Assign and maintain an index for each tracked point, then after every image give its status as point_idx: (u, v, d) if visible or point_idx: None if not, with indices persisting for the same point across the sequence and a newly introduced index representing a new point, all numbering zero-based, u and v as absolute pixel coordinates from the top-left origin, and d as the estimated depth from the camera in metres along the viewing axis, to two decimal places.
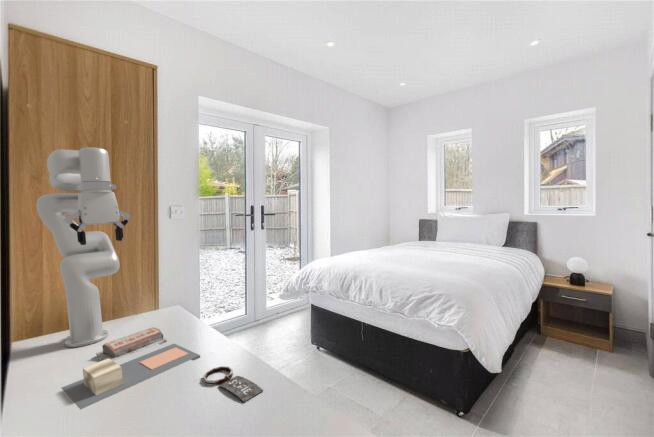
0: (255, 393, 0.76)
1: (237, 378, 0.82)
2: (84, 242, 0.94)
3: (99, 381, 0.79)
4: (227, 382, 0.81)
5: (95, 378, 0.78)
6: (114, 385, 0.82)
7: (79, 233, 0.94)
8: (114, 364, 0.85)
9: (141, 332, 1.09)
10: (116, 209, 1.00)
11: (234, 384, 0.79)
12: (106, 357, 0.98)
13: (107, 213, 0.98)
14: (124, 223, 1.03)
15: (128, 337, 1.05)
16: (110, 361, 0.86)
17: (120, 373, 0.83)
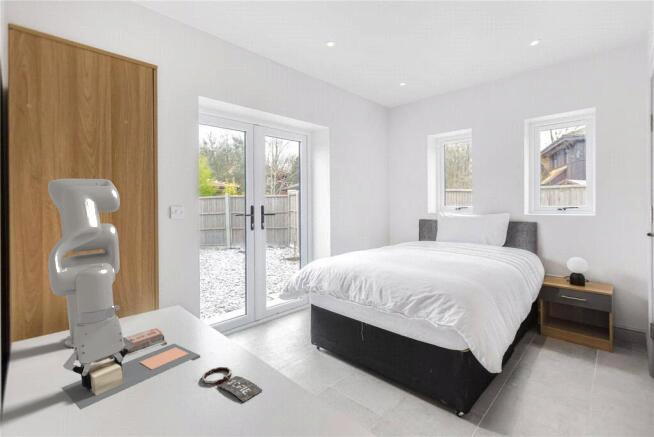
0: (254, 393, 0.76)
1: (236, 378, 0.82)
2: (89, 387, 0.80)
3: (99, 381, 0.79)
4: (226, 382, 0.81)
5: (95, 378, 0.78)
6: (114, 385, 0.82)
7: (83, 376, 0.80)
8: (114, 364, 0.85)
9: (143, 333, 1.08)
10: (120, 336, 0.85)
11: (233, 384, 0.79)
12: (105, 357, 0.98)
13: (109, 344, 0.83)
14: (123, 354, 0.87)
15: (129, 338, 1.04)
16: (110, 361, 0.86)
17: (120, 373, 0.83)
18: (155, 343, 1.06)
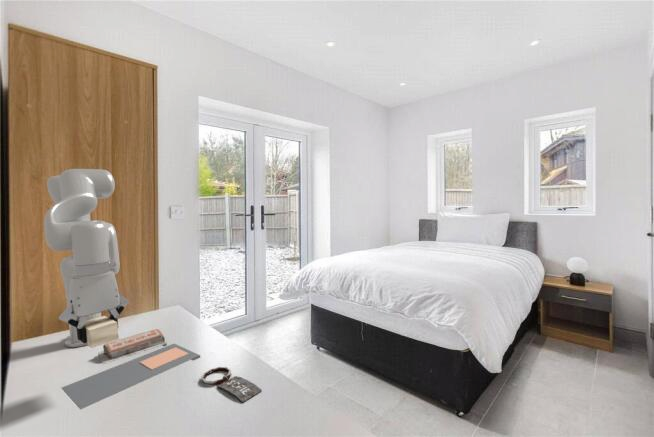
0: (254, 393, 0.76)
1: (235, 378, 0.82)
2: (85, 340, 0.80)
3: (95, 334, 0.79)
4: (225, 382, 0.81)
5: (90, 331, 0.78)
6: (110, 340, 0.81)
7: (79, 330, 0.79)
8: (110, 320, 0.84)
9: (143, 333, 1.07)
10: (116, 292, 0.84)
11: (233, 384, 0.79)
12: (104, 358, 0.98)
13: (105, 299, 0.82)
14: (119, 311, 0.86)
15: (129, 338, 1.04)
16: (106, 318, 0.86)
17: (116, 328, 0.82)
18: (155, 344, 1.06)
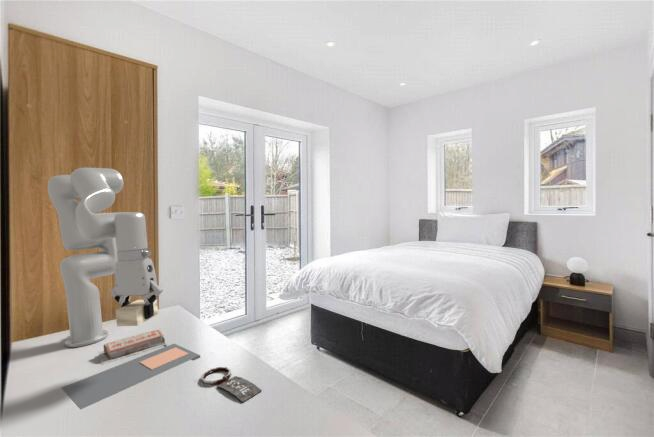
0: (254, 393, 0.76)
1: (235, 378, 0.82)
2: None
3: (119, 315, 0.86)
4: (225, 382, 0.81)
5: (116, 311, 0.86)
6: (130, 324, 0.86)
7: (122, 306, 0.90)
8: (142, 305, 0.89)
9: (144, 334, 1.07)
10: (143, 281, 0.87)
11: (232, 384, 0.79)
12: (104, 358, 0.98)
13: (134, 285, 0.88)
14: (151, 299, 0.89)
15: (129, 339, 1.03)
16: None
17: (135, 315, 0.86)
18: (154, 345, 1.05)
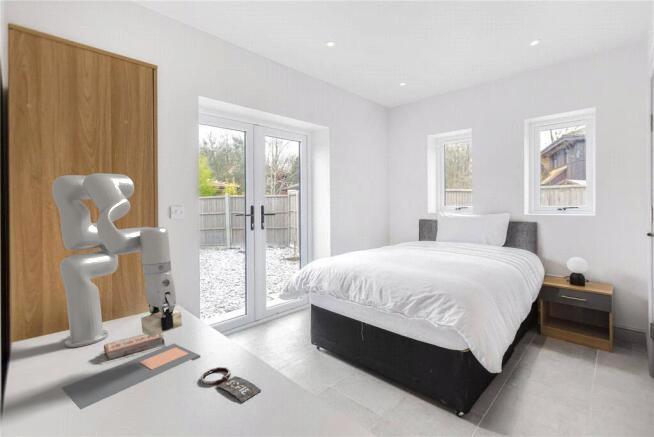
0: (253, 393, 0.76)
1: (235, 378, 0.82)
2: None
3: (142, 323, 0.93)
4: (225, 383, 0.81)
5: (141, 318, 0.94)
6: (148, 333, 0.91)
7: None
8: (161, 317, 0.93)
9: (144, 335, 1.06)
10: (158, 294, 0.91)
11: (232, 384, 0.79)
12: (103, 358, 0.98)
13: (153, 297, 0.92)
14: (166, 312, 0.92)
15: (129, 339, 1.03)
16: None
17: (150, 326, 0.90)
18: (154, 346, 1.04)
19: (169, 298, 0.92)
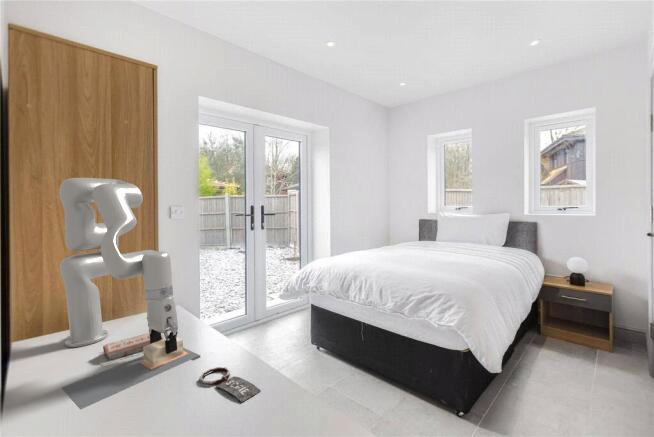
0: (253, 393, 0.76)
1: (234, 379, 0.82)
2: None
3: (144, 352, 0.94)
4: (224, 383, 0.81)
5: (143, 347, 0.94)
6: (150, 363, 0.92)
7: None
8: (162, 346, 0.94)
9: (144, 335, 1.06)
10: (160, 320, 0.91)
11: (231, 384, 0.79)
12: (103, 359, 0.97)
13: (155, 322, 0.93)
14: (170, 336, 0.91)
15: (128, 340, 1.03)
16: None
17: (151, 356, 0.91)
18: None
19: (171, 321, 0.92)
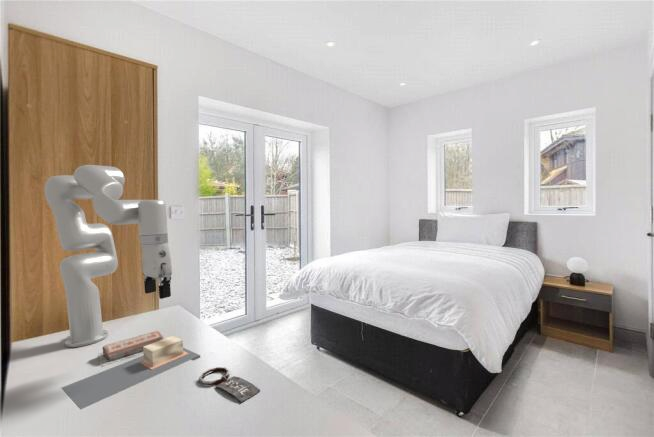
0: (252, 393, 0.76)
1: (234, 379, 0.82)
2: (145, 291, 0.99)
3: (144, 352, 0.94)
4: (224, 383, 0.81)
5: (143, 347, 0.94)
6: (150, 363, 0.92)
7: None
8: (162, 346, 0.94)
9: (143, 335, 1.06)
10: (154, 265, 0.92)
11: (231, 384, 0.79)
12: (103, 360, 0.97)
13: (149, 268, 0.94)
14: (163, 281, 0.92)
15: (128, 340, 1.02)
16: (172, 342, 0.96)
17: (151, 356, 0.91)
18: None
19: (165, 266, 0.93)
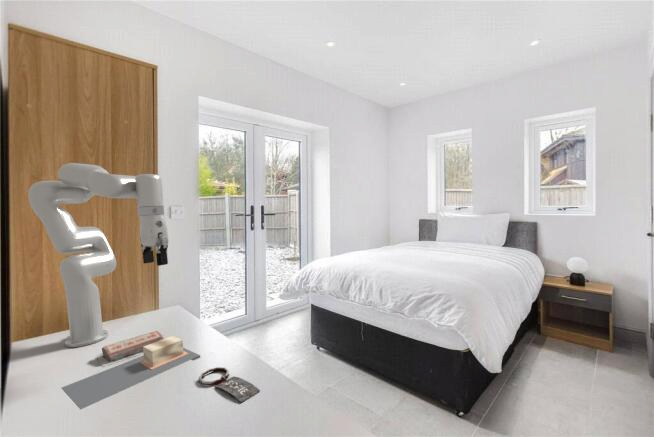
0: (252, 393, 0.76)
1: (233, 379, 0.82)
2: (143, 261, 1.06)
3: (144, 352, 0.94)
4: (223, 383, 0.81)
5: (143, 347, 0.94)
6: (150, 363, 0.92)
7: None
8: (162, 346, 0.94)
9: (143, 336, 1.06)
10: (151, 234, 0.99)
11: (231, 385, 0.79)
12: (103, 361, 0.96)
13: (147, 237, 1.01)
14: (161, 248, 0.99)
15: (128, 341, 1.02)
16: (172, 342, 0.96)
17: (151, 356, 0.91)
18: None
19: (162, 235, 1.00)
